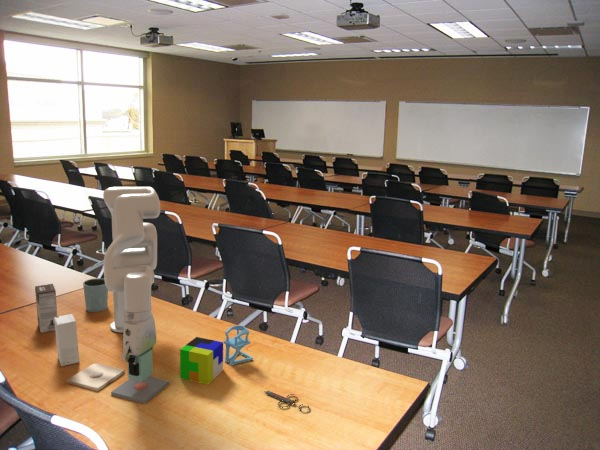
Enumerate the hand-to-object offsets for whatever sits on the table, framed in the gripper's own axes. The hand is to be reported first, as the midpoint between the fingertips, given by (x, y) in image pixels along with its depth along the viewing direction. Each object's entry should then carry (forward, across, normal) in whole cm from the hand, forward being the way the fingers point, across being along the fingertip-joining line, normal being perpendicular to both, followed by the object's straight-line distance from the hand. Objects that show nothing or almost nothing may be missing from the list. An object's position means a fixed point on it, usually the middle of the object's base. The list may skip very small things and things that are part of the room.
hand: (140, 370), depth 146 cm
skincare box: (+7, +6, +34) cm, 35 cm away
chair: (+7, +29, -18) cm, 34 cm away
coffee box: (+6, +23, +61) cm, 65 cm away
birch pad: (+6, 0, +17) cm, 18 cm away
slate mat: (+7, 0, 0) cm, 7 cm away
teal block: (+2, 0, 0) cm, 2 cm away
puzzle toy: (+7, +16, -12) cm, 21 cm away
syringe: (+7, +12, -42) cm, 44 cm away
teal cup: (+6, +46, +58) cm, 74 cm away
